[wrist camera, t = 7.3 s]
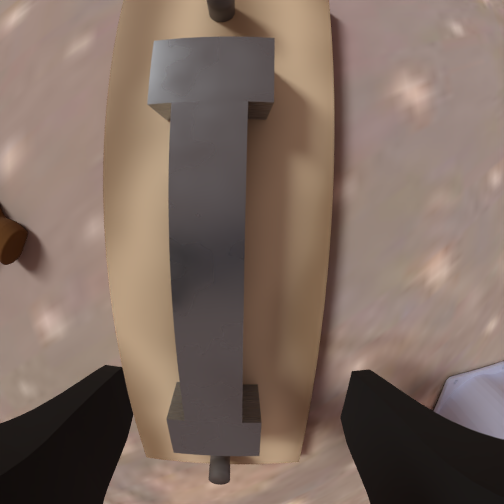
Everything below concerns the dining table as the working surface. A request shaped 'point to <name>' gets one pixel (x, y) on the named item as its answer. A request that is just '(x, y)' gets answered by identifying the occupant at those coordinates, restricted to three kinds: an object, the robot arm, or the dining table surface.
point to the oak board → (256, 217)
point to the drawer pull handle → (210, 230)
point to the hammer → (11, 239)
